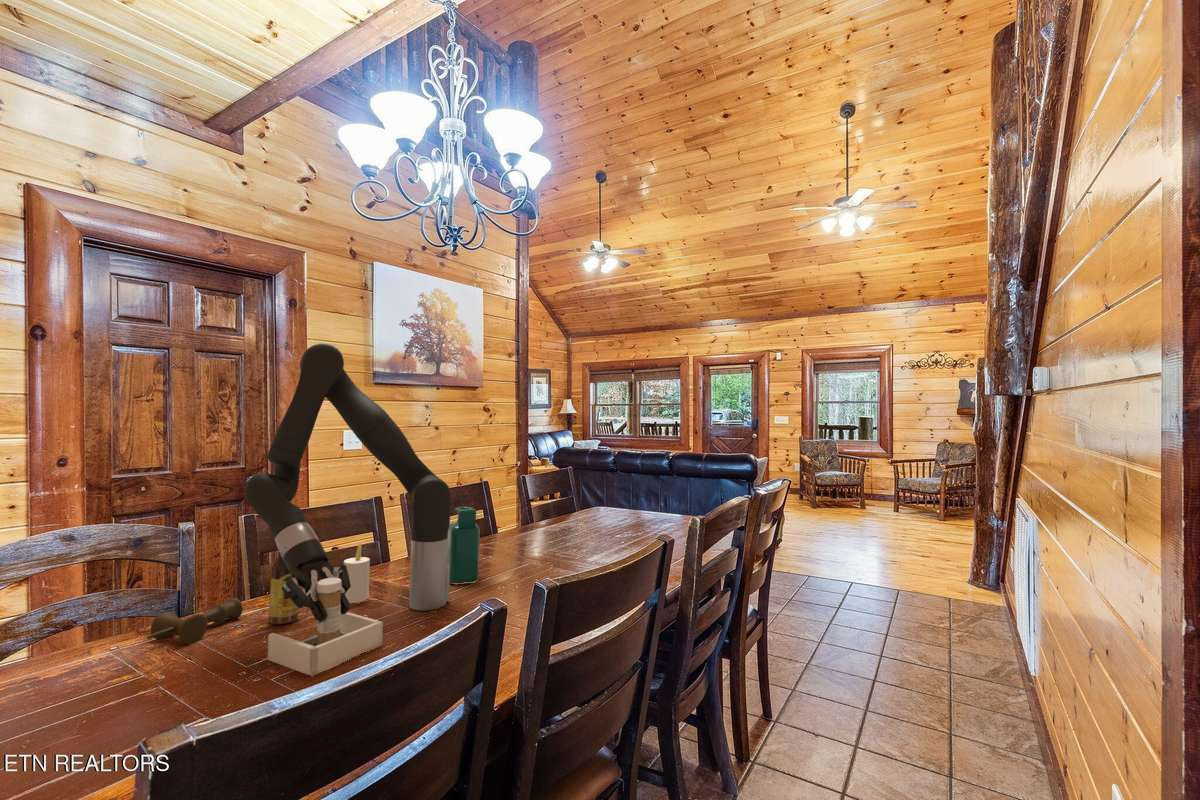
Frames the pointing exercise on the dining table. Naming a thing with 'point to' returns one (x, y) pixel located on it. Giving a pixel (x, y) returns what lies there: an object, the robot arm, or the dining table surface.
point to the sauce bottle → (281, 595)
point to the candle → (358, 577)
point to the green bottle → (463, 547)
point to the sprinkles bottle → (329, 609)
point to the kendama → (194, 622)
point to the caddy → (327, 646)
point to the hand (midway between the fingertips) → (335, 615)
